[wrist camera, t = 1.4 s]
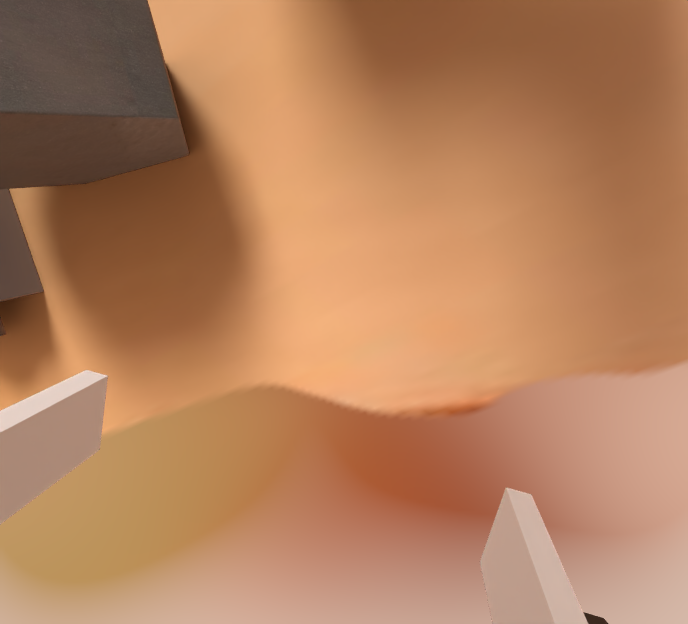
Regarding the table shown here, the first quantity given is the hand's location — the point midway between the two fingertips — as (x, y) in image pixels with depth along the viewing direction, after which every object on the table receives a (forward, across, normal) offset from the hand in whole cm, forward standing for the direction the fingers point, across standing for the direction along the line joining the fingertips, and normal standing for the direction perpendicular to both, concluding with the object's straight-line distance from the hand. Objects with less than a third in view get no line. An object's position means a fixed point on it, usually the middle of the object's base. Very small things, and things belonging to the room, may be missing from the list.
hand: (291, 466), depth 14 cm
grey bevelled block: (+26, -24, +10) cm, 37 cm away
